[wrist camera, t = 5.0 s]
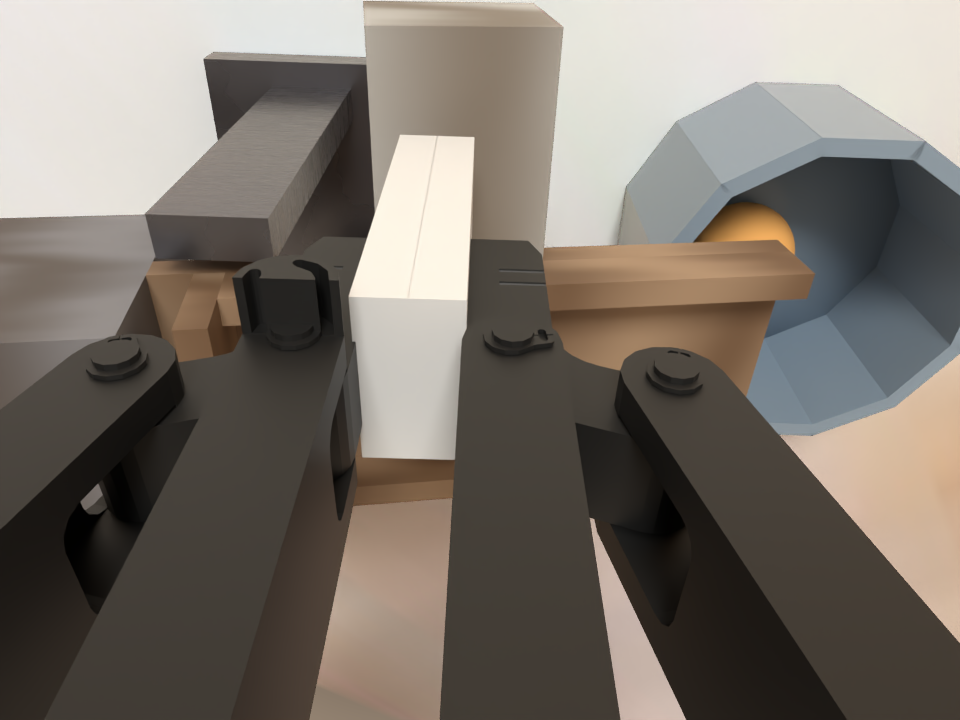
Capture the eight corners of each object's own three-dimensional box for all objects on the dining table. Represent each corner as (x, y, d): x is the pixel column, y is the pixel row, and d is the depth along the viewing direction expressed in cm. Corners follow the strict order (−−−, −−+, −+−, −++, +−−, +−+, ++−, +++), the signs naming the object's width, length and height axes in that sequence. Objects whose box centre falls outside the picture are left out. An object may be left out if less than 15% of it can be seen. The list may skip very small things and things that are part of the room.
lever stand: (261, 332, 35) (154, 545, 24) (213, 51, 28) (30, 174, 17) (422, 337, 36) (390, 553, 24) (418, 59, 28) (368, 186, 17)
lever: (14, 421, 25) (-84, 583, 20) (-181, -27, 17) (-443, 29, 12) (688, 379, 29) (770, 508, 23) (783, -12, 21) (946, 37, 15)
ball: (667, 295, 31) (758, 328, 29) (685, 206, 28) (786, 236, 26) (707, 263, 33) (793, 292, 31) (727, 180, 31) (821, 205, 29)
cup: (603, 337, 35) (624, 429, 30) (643, 77, 28) (680, 132, 23) (850, 345, 35) (919, 439, 30) (950, 88, 28) (1066, 146, 23)
